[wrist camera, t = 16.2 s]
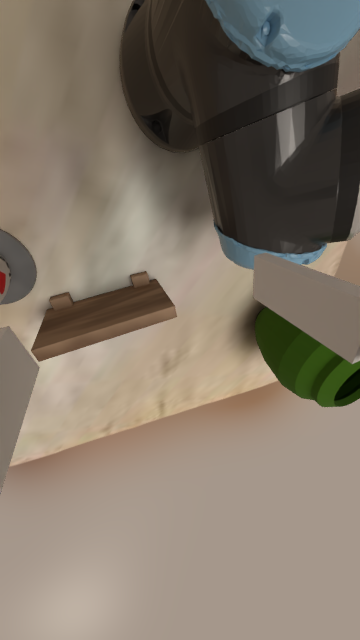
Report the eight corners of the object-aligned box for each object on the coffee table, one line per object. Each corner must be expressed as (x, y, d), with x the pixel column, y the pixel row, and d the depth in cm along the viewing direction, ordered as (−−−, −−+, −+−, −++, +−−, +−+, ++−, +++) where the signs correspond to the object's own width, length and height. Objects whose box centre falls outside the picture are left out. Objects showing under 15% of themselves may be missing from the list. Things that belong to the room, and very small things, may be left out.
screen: (41, 299, 37) (22, 339, 27) (153, 269, 40) (172, 293, 31) (57, 327, 40) (46, 371, 30) (160, 297, 44) (179, 327, 34)
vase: (257, 357, 64) (329, 431, 44) (222, 325, 53) (298, 404, 33) (308, 310, 61) (410, 368, 41) (282, 266, 50) (404, 315, 30)
